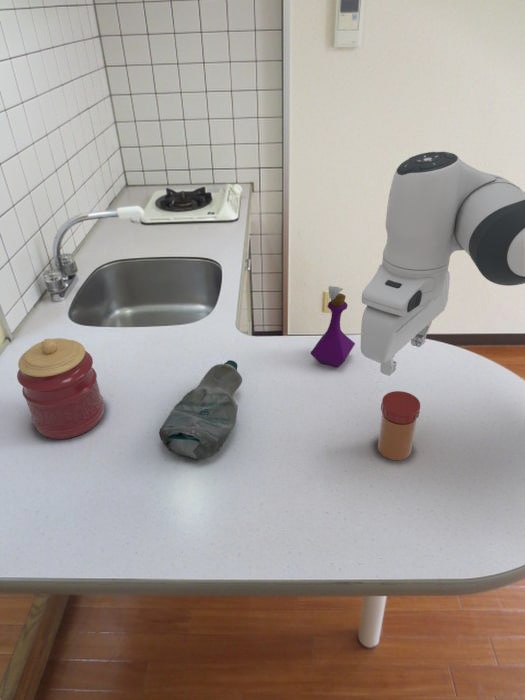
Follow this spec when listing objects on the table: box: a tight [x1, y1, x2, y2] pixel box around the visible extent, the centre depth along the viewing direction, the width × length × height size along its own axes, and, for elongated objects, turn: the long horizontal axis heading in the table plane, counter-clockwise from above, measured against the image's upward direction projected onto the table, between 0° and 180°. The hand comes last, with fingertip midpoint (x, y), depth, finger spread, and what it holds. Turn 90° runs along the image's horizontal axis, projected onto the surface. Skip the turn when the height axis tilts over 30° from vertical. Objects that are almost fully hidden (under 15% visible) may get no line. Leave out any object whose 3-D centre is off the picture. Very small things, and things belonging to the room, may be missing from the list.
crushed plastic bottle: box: [158, 359, 243, 460], centre depth 97 cm, size 13×7×25 cm
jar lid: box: [380, 390, 421, 424], centre depth 86 cm, size 6×6×2 cm
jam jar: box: [377, 413, 418, 461], centre depth 88 cm, size 6×6×10 cm
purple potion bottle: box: [310, 285, 356, 369], centre depth 109 cm, size 8×8×18 cm
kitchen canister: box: [16, 337, 105, 440], centre depth 96 cm, size 13×13×18 cm
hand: (403, 357), depth 81 cm, fingers open, 8 cm apart
